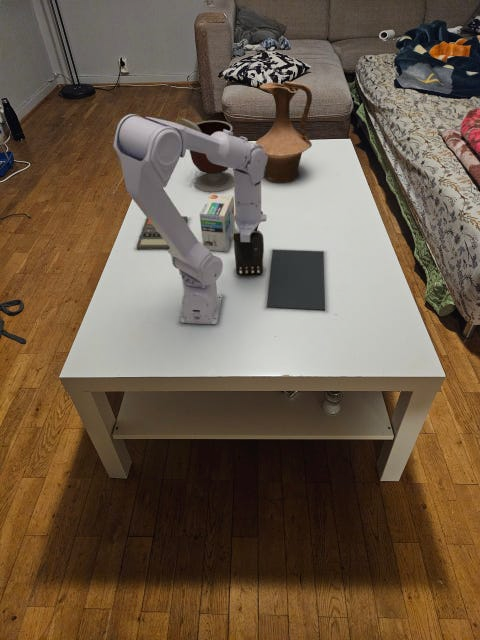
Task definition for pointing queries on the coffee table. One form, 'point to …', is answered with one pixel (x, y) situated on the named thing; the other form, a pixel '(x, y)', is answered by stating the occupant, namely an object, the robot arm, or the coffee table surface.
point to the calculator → (152, 237)
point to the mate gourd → (214, 173)
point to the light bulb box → (217, 222)
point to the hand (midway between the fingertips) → (249, 250)
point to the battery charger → (256, 264)
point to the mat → (297, 280)
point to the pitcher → (285, 134)
